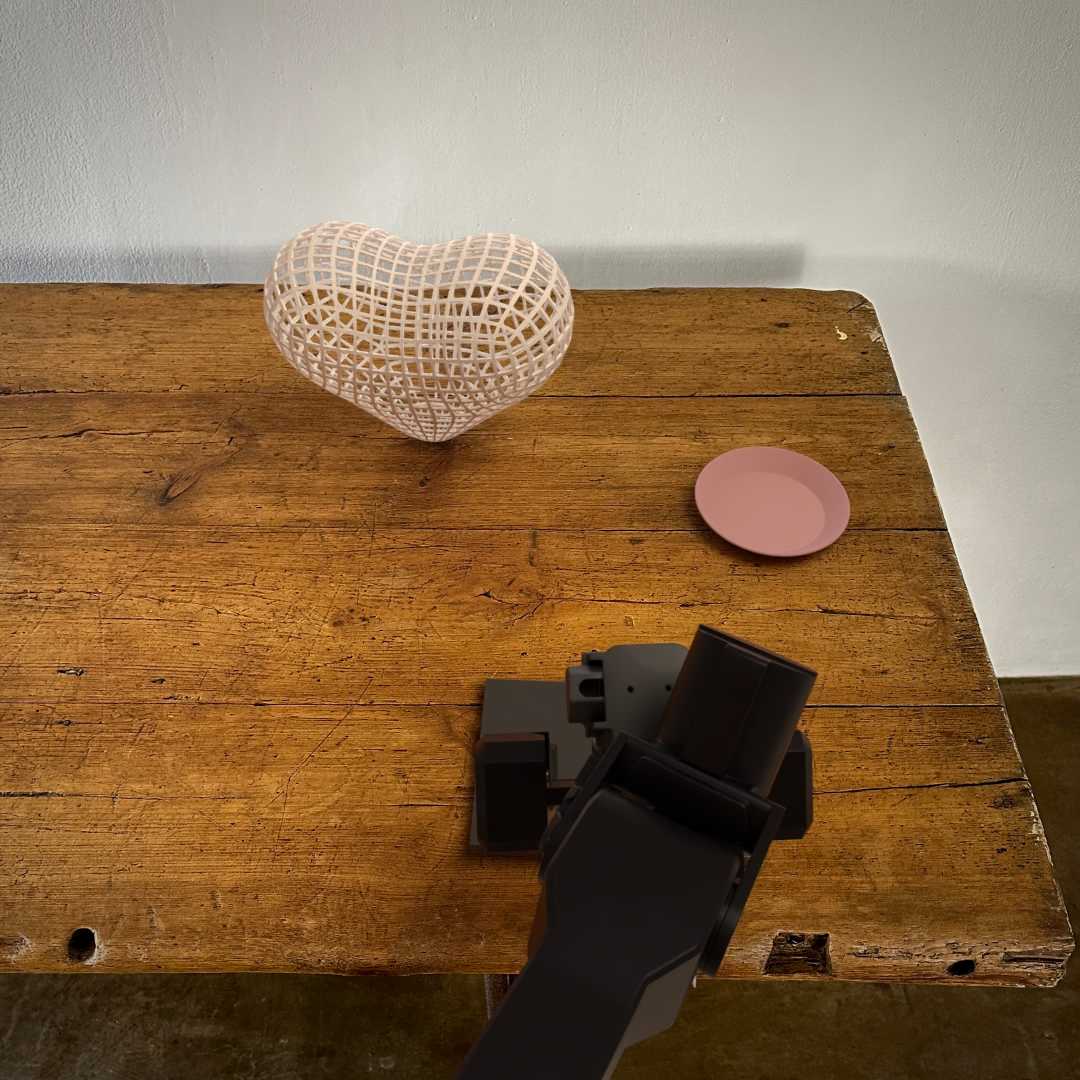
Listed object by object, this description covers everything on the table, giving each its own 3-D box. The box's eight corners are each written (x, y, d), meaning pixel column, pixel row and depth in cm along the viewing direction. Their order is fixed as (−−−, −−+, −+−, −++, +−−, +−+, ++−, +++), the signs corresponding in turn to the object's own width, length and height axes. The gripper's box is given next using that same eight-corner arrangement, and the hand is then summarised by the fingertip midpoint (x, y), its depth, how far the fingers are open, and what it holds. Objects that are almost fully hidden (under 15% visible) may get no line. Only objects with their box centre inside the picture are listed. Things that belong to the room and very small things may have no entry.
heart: (275, 476, 95) (221, 278, 79) (321, 377, 105) (281, 184, 89) (559, 505, 92) (564, 307, 76) (577, 401, 103) (585, 207, 86)
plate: (842, 582, 86) (847, 568, 85) (682, 553, 88) (684, 538, 87) (847, 474, 95) (852, 459, 94) (702, 450, 98) (705, 435, 96)
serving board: (752, 867, 68) (756, 857, 67) (470, 854, 69) (469, 844, 68) (735, 698, 78) (737, 688, 77) (486, 688, 78) (485, 678, 77)
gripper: (849, 660, 47) (764, 620, 63) (467, 673, 47) (476, 629, 62) (853, 884, 48) (767, 789, 63) (474, 900, 47) (481, 801, 63)
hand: (624, 748), depth 63 cm, fingers open, 9 cm apart
